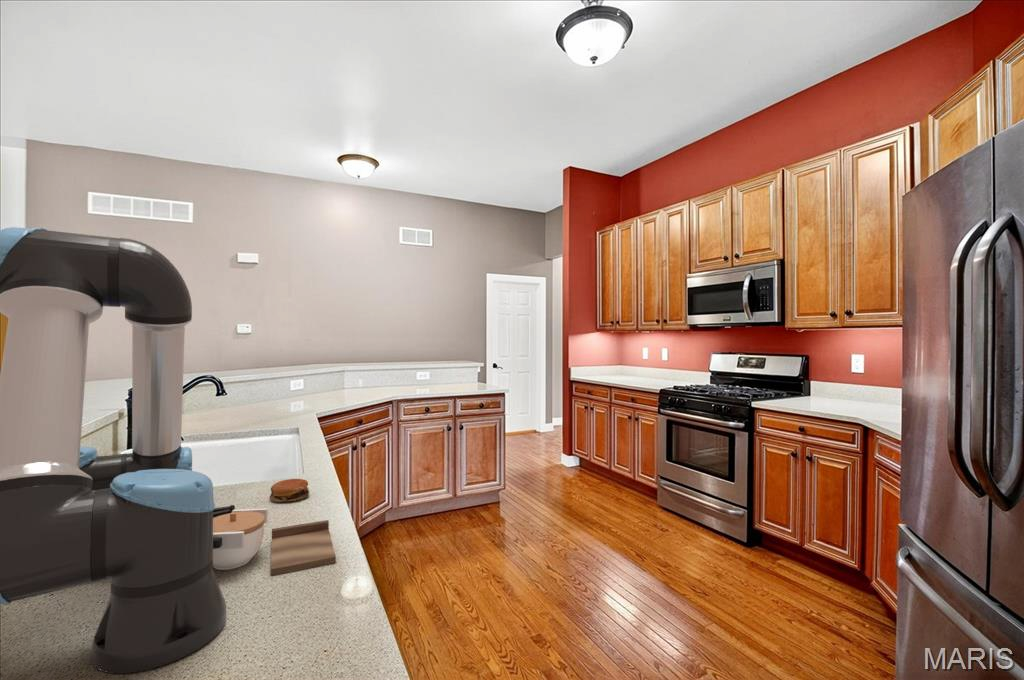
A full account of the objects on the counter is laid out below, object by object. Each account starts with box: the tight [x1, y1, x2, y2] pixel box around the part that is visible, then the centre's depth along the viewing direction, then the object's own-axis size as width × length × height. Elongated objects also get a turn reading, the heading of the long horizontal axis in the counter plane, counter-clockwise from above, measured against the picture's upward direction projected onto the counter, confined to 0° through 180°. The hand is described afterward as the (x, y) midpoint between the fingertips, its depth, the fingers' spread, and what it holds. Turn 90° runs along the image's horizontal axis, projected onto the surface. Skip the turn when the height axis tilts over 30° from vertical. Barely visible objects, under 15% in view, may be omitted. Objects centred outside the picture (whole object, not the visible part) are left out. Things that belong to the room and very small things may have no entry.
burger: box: [269, 478, 310, 503], centre depth 122 cm, size 10×9×5 cm
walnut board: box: [270, 519, 337, 577], centre depth 91 cm, size 15×11×3 cm
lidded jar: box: [213, 512, 266, 571], centre depth 87 cm, size 11×11×9 cm
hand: (256, 526), depth 88 cm, fingers closed on lidded jar, 11 cm apart
